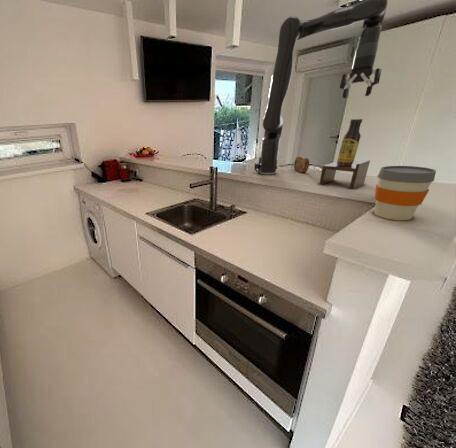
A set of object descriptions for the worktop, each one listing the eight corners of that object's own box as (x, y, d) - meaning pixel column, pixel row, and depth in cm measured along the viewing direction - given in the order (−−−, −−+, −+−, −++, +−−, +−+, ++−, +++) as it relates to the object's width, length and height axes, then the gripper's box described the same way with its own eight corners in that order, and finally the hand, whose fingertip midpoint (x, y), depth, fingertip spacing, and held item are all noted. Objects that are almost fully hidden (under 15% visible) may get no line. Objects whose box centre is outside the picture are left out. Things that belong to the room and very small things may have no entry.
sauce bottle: (333, 165, 116) (342, 119, 108) (341, 163, 118) (351, 118, 110) (348, 166, 110) (359, 119, 103) (356, 165, 113) (368, 118, 105)
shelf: (319, 184, 120) (323, 161, 116) (330, 179, 126) (335, 158, 122) (353, 189, 109) (359, 164, 105) (363, 184, 115) (370, 160, 111)
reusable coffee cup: (357, 210, 86) (369, 167, 80) (392, 207, 86) (405, 164, 81) (392, 224, 74) (408, 174, 69) (431, 220, 75) (451, 171, 69)
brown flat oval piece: (293, 169, 156) (295, 155, 153) (298, 168, 156) (300, 155, 152) (302, 173, 142) (305, 159, 139) (308, 173, 142) (311, 158, 139)
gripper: (389, 52, 104) (377, 95, 111) (350, 60, 115) (342, 98, 122) (382, 51, 101) (371, 95, 107) (342, 59, 112) (334, 99, 118)
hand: (355, 97), depth 114 cm, fingers open, 8 cm apart
